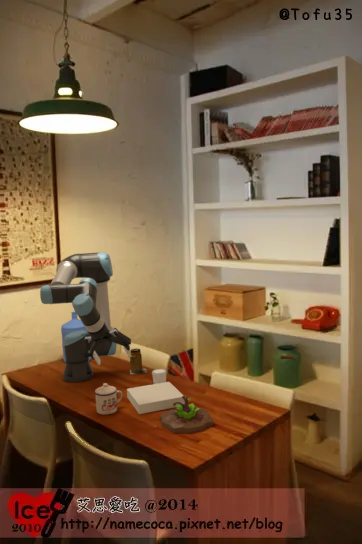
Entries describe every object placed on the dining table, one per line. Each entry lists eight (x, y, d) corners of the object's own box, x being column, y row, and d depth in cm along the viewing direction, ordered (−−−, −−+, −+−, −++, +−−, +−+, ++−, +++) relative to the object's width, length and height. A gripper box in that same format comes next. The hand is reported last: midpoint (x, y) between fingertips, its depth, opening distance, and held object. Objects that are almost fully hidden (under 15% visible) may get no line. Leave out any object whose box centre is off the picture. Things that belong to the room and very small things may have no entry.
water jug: (57, 361, 272) (54, 313, 269) (80, 354, 284) (76, 308, 281) (74, 366, 262) (71, 316, 259) (97, 358, 274) (93, 311, 271)
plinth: (127, 397, 214) (126, 388, 213) (169, 389, 221) (168, 381, 220) (139, 414, 195) (138, 404, 195) (184, 405, 202) (184, 396, 202)
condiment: (129, 370, 251) (128, 348, 250) (145, 368, 253) (144, 346, 251) (130, 374, 244) (129, 352, 243) (147, 373, 246) (145, 350, 244)
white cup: (169, 383, 230) (168, 369, 229) (164, 388, 223) (163, 373, 222) (155, 382, 232) (155, 368, 231) (150, 387, 225) (149, 372, 225)
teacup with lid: (101, 417, 194) (100, 389, 193) (92, 410, 201) (90, 383, 200) (127, 409, 201) (126, 382, 199) (117, 402, 208) (116, 377, 207)
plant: (173, 438, 174) (171, 409, 172) (154, 418, 191) (152, 391, 190) (221, 426, 182) (220, 398, 180) (198, 408, 199) (197, 382, 198)
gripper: (65, 340, 189) (86, 372, 202) (125, 325, 186) (142, 358, 200) (67, 327, 195) (87, 359, 208) (125, 311, 192) (142, 344, 205)
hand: (114, 358), depth 204 cm, fingers open, 13 cm apart
